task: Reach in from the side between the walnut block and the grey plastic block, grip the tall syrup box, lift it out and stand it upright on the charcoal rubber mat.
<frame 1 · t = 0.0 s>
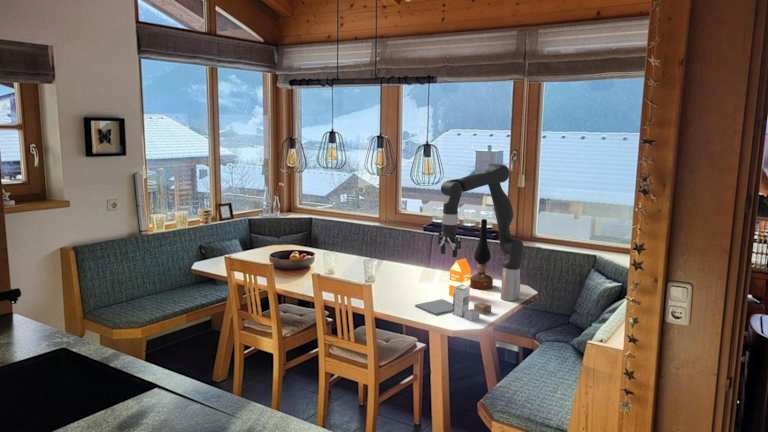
hand: (448, 255, 289), 29 cm above the table, tool pointing down, fingers open, 8 cm apart
grey plastic block: (471, 319, 287), on the table
syrup box: (460, 314, 293), on the table
charcoal mat: (438, 307, 302), on the table
oil lamp: (480, 286, 342), on the table
walnut block: (482, 312, 298), on the table
orange juice: (459, 295, 324), on the table
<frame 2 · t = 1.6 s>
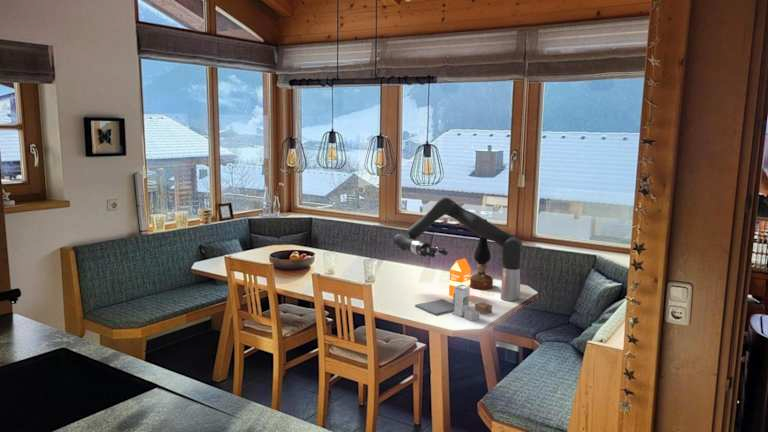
hand: (440, 254, 305), 26 cm above the table, tool horizontal, fingers open, 8 cm apart
nothing on the table moved.
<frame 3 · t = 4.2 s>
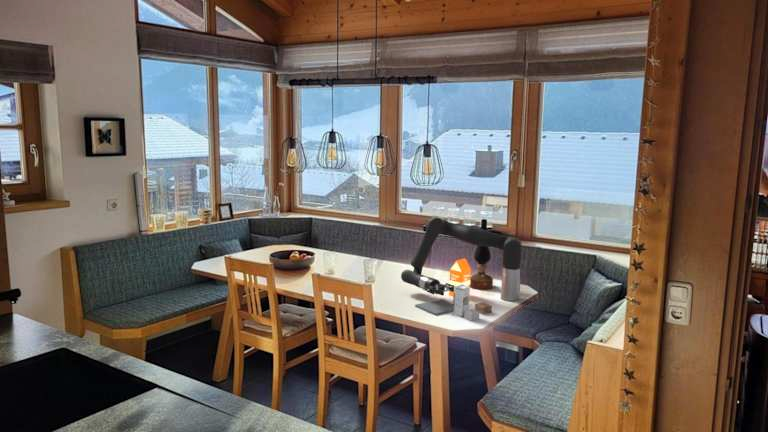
hand: (449, 292, 298), 9 cm above the table, tool horizontal, fingers open, 8 cm apart
nothing on the table moved.
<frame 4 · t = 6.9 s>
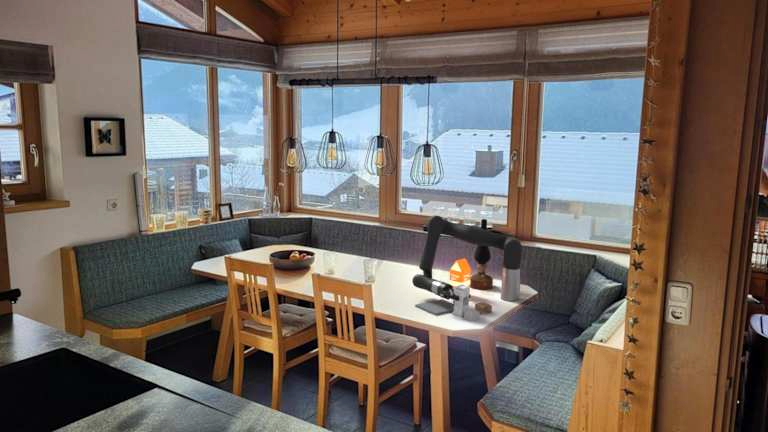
hand: (464, 297, 290), 9 cm above the table, tool horizontal, fingers closed on syrup box, 7 cm apart
syrup box: (460, 314, 293), on the table, touching gripper
everything else where it was.
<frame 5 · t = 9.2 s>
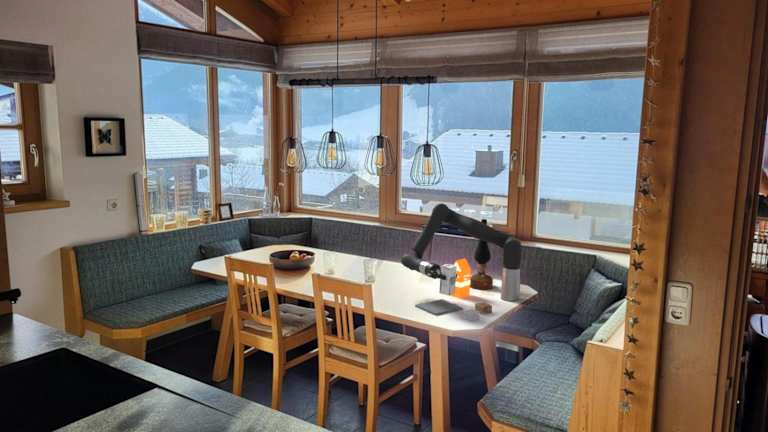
hand: (451, 277, 294), 18 cm above the table, tool horizontal, fingers closed on syrup box, 7 cm apart
syrup box: (447, 293, 297), point 9 cm above the table, touching gripper
everything else where it was.
when the fingers open (11 cm above the table, at t = 11.9 s): syrup box drops 1 cm, resting on charcoal mat.
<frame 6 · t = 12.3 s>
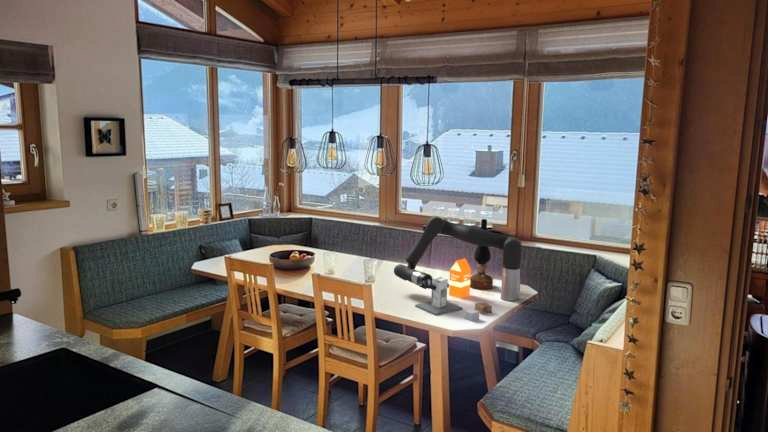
hand: (442, 287, 298), 12 cm above the table, tool horizontal, fingers open, 8 cm apart
syrup box: (438, 306, 302), point 1 cm above the table, touching charcoal mat
everything else where it was.
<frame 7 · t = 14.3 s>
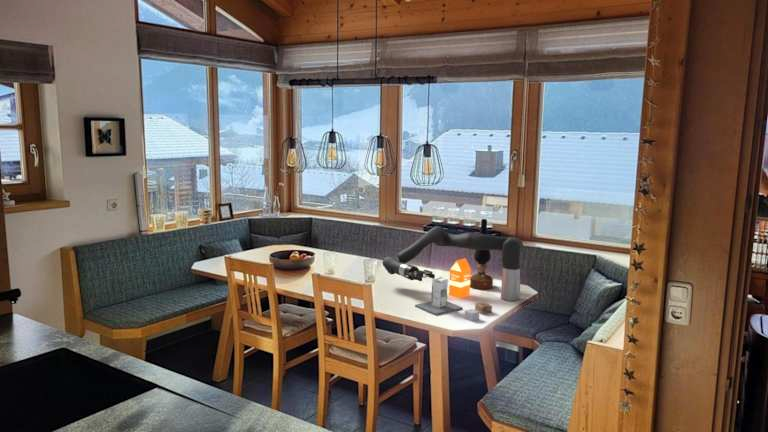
hand: (428, 277, 309), 13 cm above the table, tool horizontal, fingers open, 8 cm apart
nothing on the table moved.
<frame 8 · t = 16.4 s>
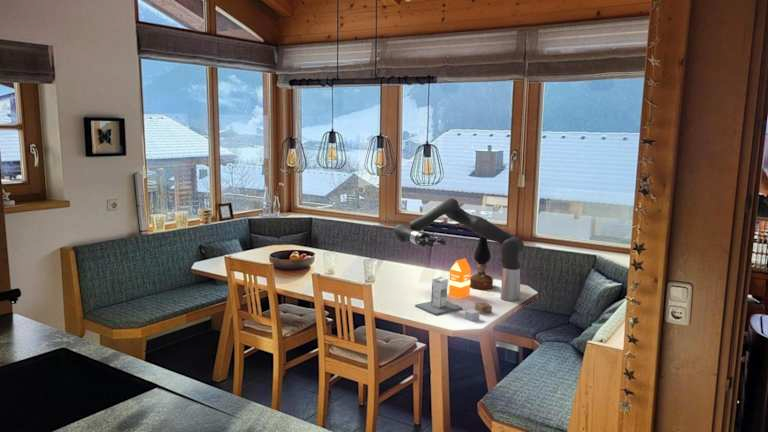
hand: (439, 243, 312), 30 cm above the table, tool horizontal, fingers open, 8 cm apart
nothing on the table moved.
at the end: syrup box inside the target area on the charcoal mat (0.1 cm from its centre), point 0.8 cm above the charcoal mat's base; syrup box tilted 0°; the gripper is holding nothing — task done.
